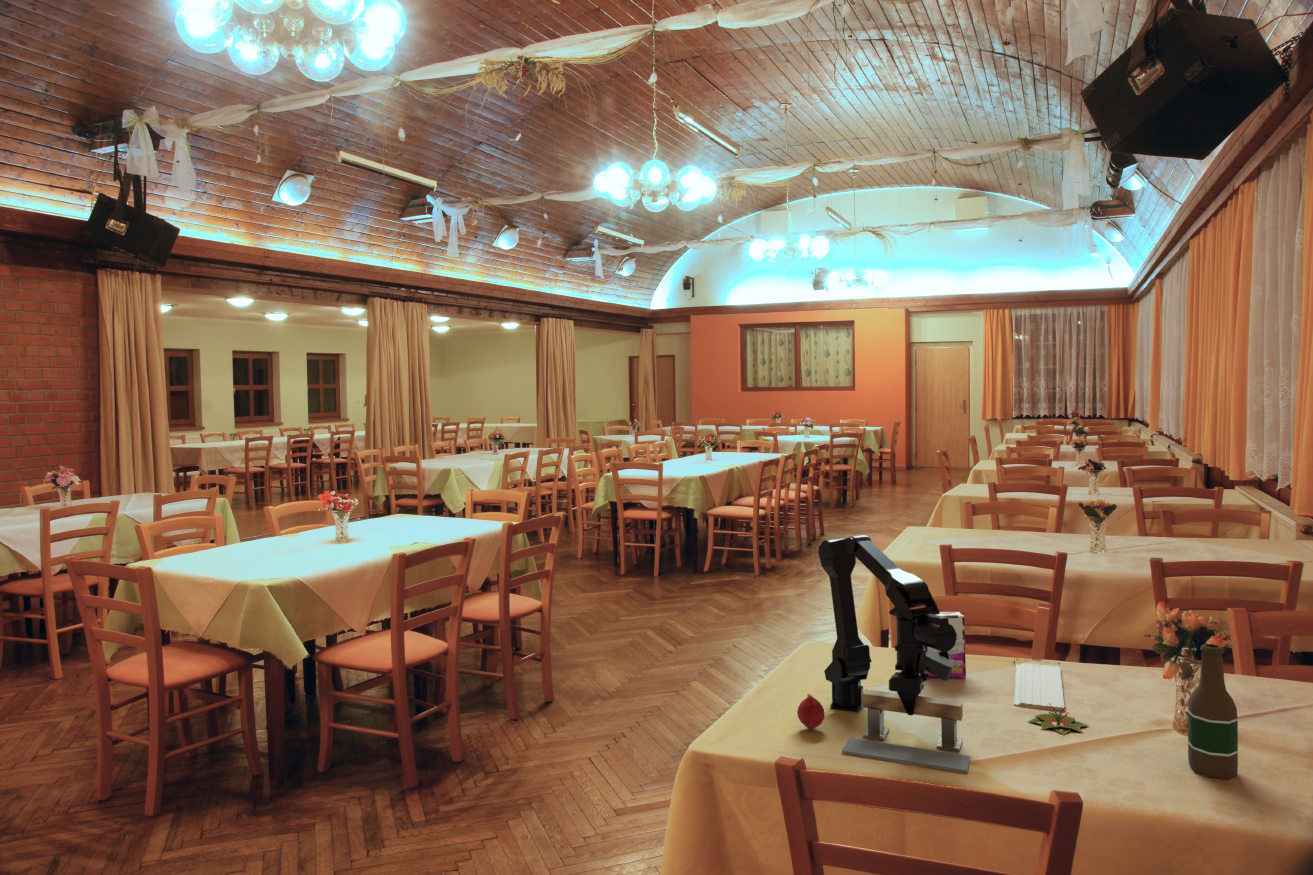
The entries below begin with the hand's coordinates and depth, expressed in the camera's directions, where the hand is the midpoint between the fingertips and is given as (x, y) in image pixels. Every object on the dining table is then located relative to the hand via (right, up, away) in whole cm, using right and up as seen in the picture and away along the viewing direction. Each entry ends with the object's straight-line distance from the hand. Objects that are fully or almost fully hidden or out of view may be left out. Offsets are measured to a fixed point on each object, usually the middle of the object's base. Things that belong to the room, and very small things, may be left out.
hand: (911, 712), depth 170 cm
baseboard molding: (+40, -4, +30) cm, 50 cm away
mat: (-4, -6, -8) cm, 11 cm away
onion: (-20, -6, +7) cm, 22 cm away
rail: (0, 0, 0) cm, 0 cm away
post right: (+7, -6, -3) cm, 9 cm away
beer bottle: (+51, -5, -18) cm, 55 cm away
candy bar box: (+20, -4, +39) cm, 44 cm away
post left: (-7, -6, +4) cm, 9 cm away
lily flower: (+34, -5, +6) cm, 35 cm away
